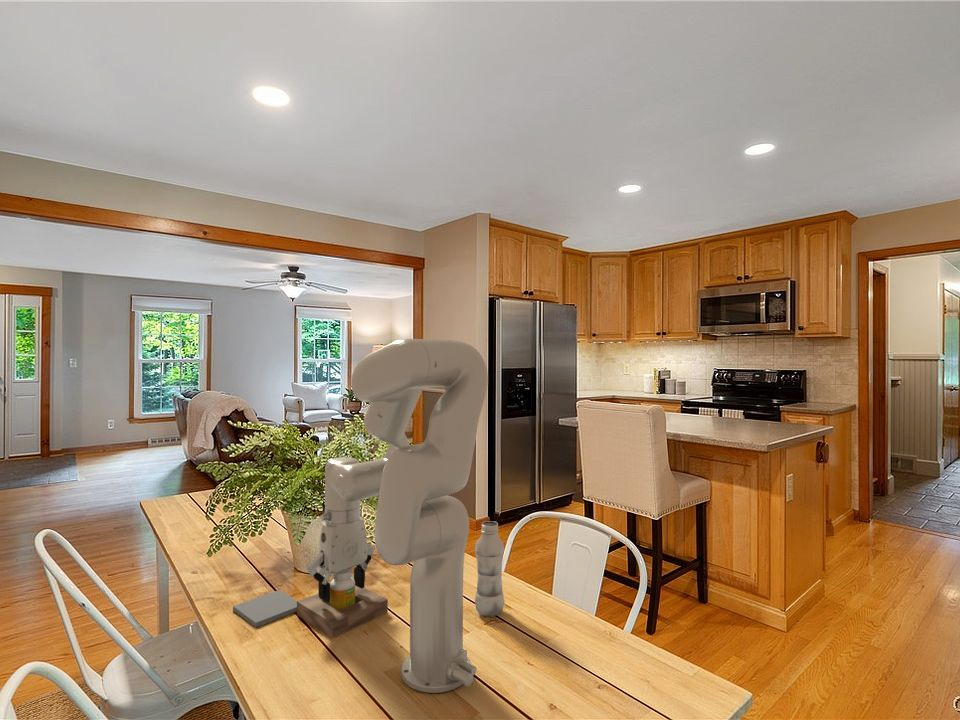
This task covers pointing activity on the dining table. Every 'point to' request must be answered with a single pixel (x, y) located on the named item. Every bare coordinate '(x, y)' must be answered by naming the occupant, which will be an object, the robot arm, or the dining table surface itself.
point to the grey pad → (266, 608)
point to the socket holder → (342, 612)
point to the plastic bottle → (489, 571)
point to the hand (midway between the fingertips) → (342, 592)
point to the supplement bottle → (342, 589)
